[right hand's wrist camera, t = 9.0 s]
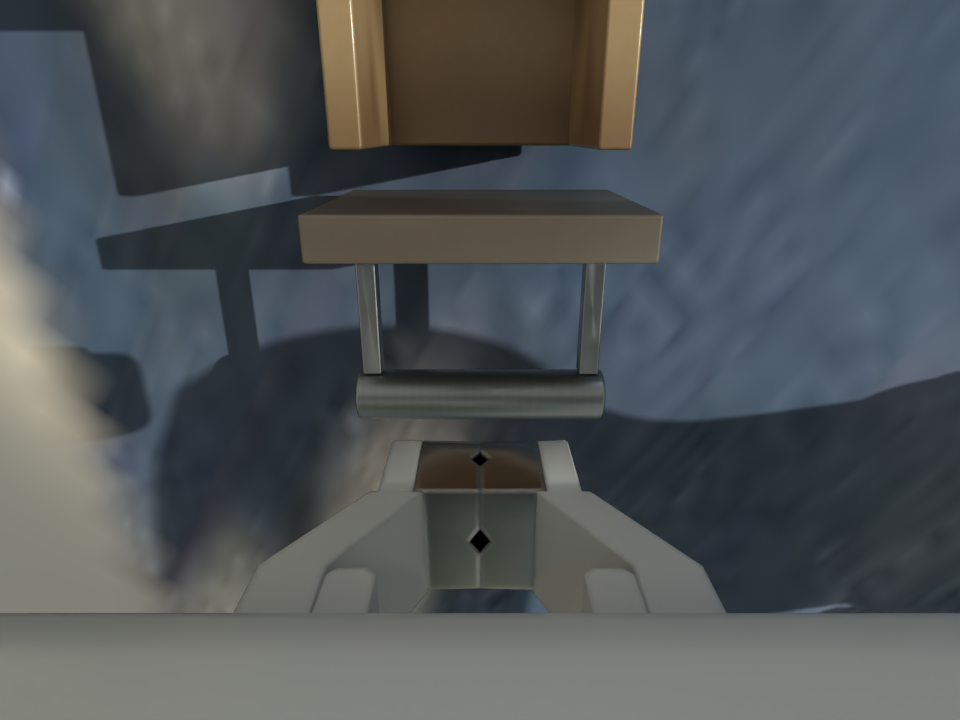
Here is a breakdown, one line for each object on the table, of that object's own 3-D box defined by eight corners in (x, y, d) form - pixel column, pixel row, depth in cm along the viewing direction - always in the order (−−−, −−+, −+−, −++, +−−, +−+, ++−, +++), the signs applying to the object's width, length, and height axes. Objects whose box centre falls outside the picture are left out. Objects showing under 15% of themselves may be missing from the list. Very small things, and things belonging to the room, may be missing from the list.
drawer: (594, 375, 23) (637, 465, 16) (366, 375, 23) (323, 466, 16) (653, -414, 15) (776, -797, 9) (305, -414, 15) (183, -795, 9)
